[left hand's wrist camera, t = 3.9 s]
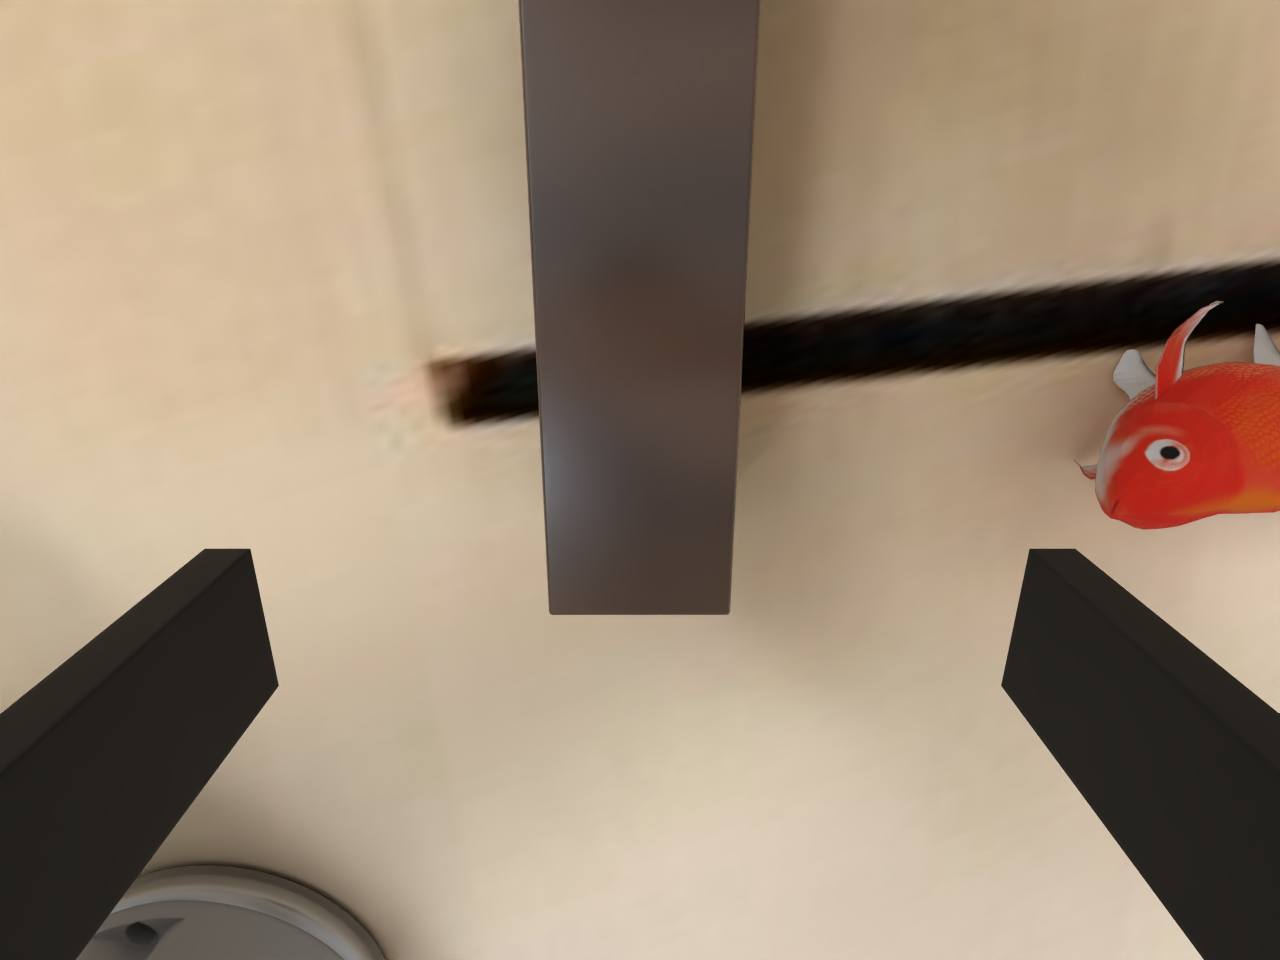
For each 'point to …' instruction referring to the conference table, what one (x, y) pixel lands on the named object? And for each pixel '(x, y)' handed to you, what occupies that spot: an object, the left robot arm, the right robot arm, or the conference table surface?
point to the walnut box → (639, 292)
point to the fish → (1192, 437)
